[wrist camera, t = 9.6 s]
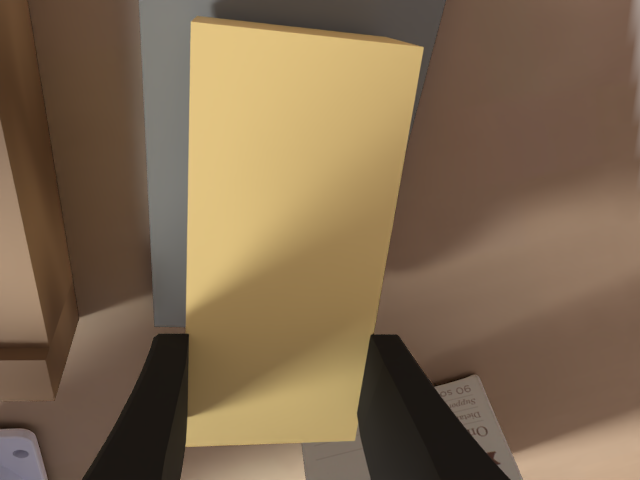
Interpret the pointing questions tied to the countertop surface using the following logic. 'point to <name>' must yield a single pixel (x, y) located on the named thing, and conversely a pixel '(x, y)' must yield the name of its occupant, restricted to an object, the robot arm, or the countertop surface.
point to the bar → (288, 223)
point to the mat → (174, 92)
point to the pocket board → (29, 227)
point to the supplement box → (466, 403)
